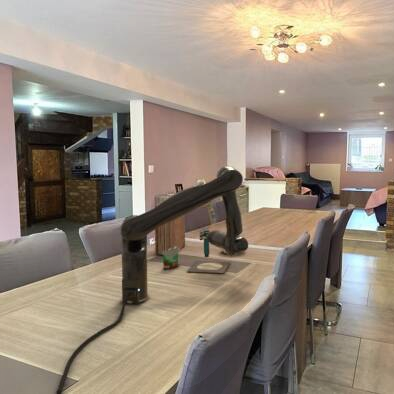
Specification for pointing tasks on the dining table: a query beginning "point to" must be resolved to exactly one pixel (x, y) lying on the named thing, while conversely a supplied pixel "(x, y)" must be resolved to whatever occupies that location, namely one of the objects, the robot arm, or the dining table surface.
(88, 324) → the dining table surface
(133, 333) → the dining table surface
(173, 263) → the potted plant
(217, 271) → the square plate with hole
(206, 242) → the marker
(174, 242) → the brown wooden block
